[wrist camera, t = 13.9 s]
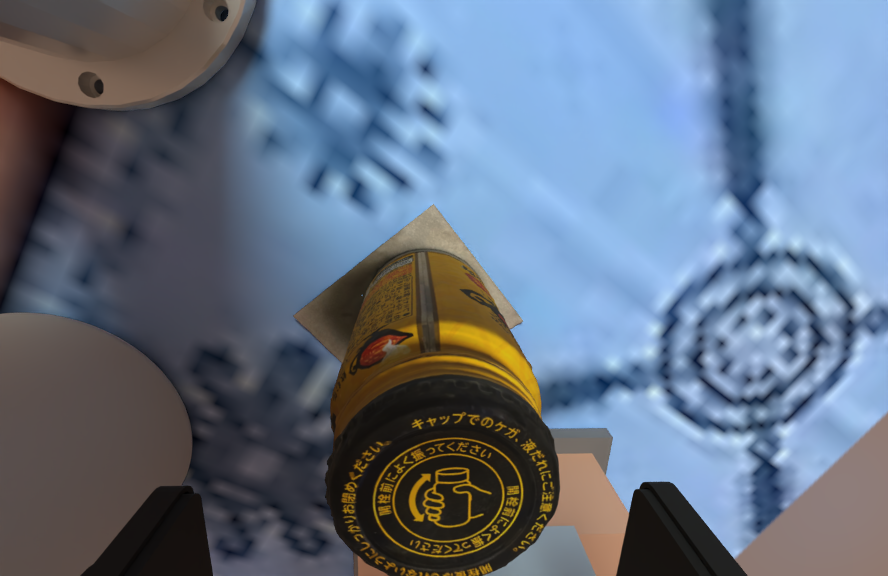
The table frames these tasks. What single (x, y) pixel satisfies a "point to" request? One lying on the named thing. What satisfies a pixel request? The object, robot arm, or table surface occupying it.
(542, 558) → the brick
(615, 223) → the table surface
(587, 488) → the brick
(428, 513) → the condiment
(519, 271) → the table surface
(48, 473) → the cylinder vase
